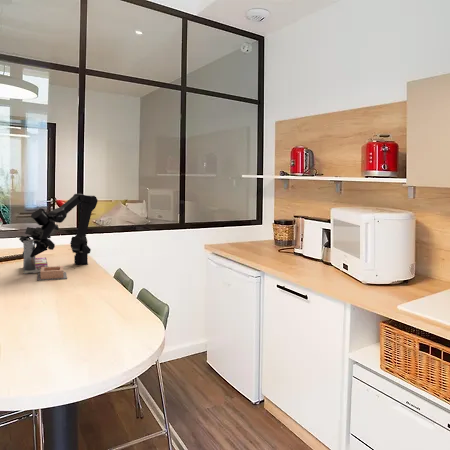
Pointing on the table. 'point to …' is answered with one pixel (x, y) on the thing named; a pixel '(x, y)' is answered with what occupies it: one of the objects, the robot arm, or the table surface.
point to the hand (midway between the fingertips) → (27, 256)
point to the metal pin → (28, 249)
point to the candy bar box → (37, 265)
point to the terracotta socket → (51, 273)
